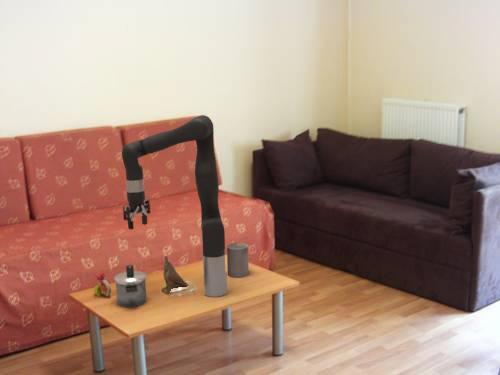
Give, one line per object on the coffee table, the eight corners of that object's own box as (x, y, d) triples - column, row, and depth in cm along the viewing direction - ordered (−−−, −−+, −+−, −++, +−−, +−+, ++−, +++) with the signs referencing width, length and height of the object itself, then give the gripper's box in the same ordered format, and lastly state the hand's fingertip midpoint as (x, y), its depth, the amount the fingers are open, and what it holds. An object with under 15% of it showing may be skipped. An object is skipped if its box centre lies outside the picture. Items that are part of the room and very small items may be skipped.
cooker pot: (116, 295, 301) (114, 273, 299) (145, 292, 304) (144, 270, 302) (117, 311, 284) (115, 287, 282) (148, 308, 287) (147, 284, 284)
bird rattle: (114, 299, 304) (101, 287, 308) (119, 278, 298) (106, 266, 303) (102, 303, 299) (90, 291, 304) (107, 282, 294) (94, 270, 299)
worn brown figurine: (167, 300, 302) (156, 262, 296) (161, 296, 306) (151, 258, 300) (191, 288, 307) (181, 251, 301) (185, 285, 312) (175, 248, 306)
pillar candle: (225, 272, 327) (224, 241, 324) (245, 269, 330) (244, 238, 326) (231, 279, 318) (229, 247, 314) (251, 276, 321) (250, 244, 317)
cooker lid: (145, 272, 299) (144, 259, 298) (147, 282, 287) (146, 269, 286) (114, 275, 297) (113, 262, 296) (114, 285, 284) (113, 272, 283)
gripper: (140, 185, 307) (142, 221, 310) (117, 192, 295) (119, 229, 299) (153, 187, 303) (155, 223, 306) (130, 194, 291) (133, 232, 295)
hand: (138, 226), depth 302 cm, fingers open, 8 cm apart
